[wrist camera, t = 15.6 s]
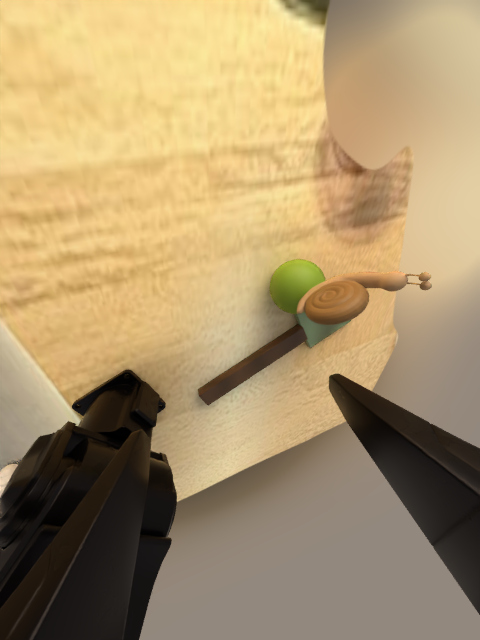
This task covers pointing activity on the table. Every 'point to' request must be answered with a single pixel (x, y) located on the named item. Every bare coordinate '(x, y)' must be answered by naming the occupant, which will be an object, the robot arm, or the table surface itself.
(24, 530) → the robot arm
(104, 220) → the table surface
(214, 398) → the spatula
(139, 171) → the table surface
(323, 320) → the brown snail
